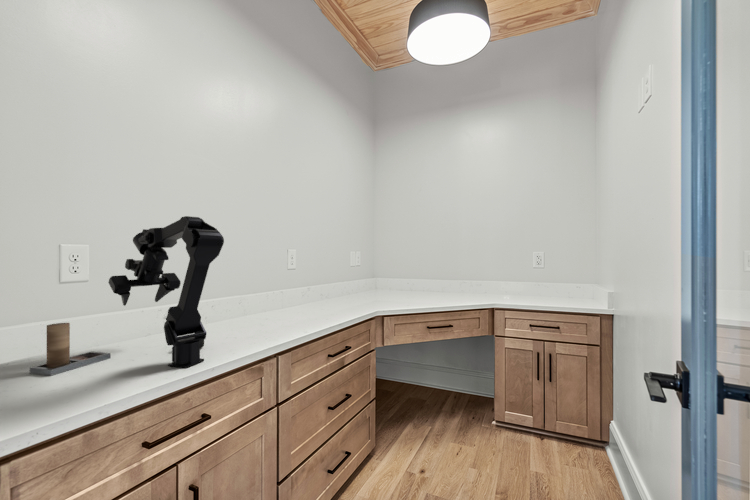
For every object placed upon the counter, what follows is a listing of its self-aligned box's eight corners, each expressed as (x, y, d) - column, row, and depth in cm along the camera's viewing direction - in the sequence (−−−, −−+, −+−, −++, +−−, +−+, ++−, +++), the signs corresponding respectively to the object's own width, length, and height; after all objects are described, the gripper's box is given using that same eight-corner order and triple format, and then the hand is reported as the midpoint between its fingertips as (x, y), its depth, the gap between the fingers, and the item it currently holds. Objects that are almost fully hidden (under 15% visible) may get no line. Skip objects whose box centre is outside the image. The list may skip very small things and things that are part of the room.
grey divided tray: (110, 358, 100) (110, 353, 100) (50, 375, 86) (50, 370, 86) (91, 356, 102) (91, 351, 102) (29, 373, 88) (29, 367, 88)
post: (73, 367, 92) (73, 323, 92) (54, 373, 88) (54, 326, 88) (61, 366, 93) (61, 322, 94) (42, 371, 89) (42, 325, 89)
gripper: (173, 250, 118) (161, 285, 123) (108, 249, 103) (97, 290, 108) (187, 268, 113) (174, 305, 118) (120, 271, 98) (108, 313, 102)
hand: (140, 302), depth 112 cm, fingers open, 9 cm apart
